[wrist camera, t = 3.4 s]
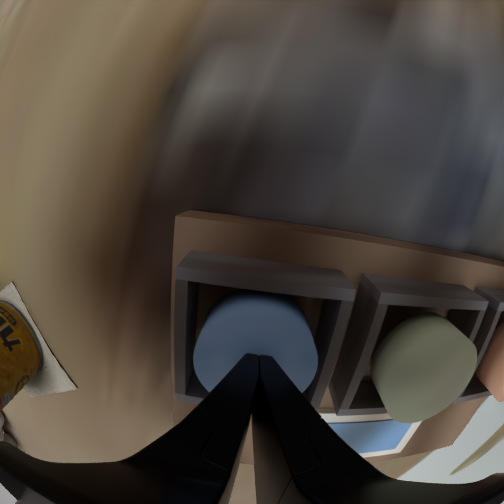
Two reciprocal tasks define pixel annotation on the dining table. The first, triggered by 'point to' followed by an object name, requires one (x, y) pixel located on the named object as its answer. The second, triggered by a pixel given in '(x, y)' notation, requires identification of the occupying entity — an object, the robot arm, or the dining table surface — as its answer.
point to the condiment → (25, 353)
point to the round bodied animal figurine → (5, 437)
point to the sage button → (422, 367)
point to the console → (334, 315)
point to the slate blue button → (255, 336)
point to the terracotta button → (493, 365)
